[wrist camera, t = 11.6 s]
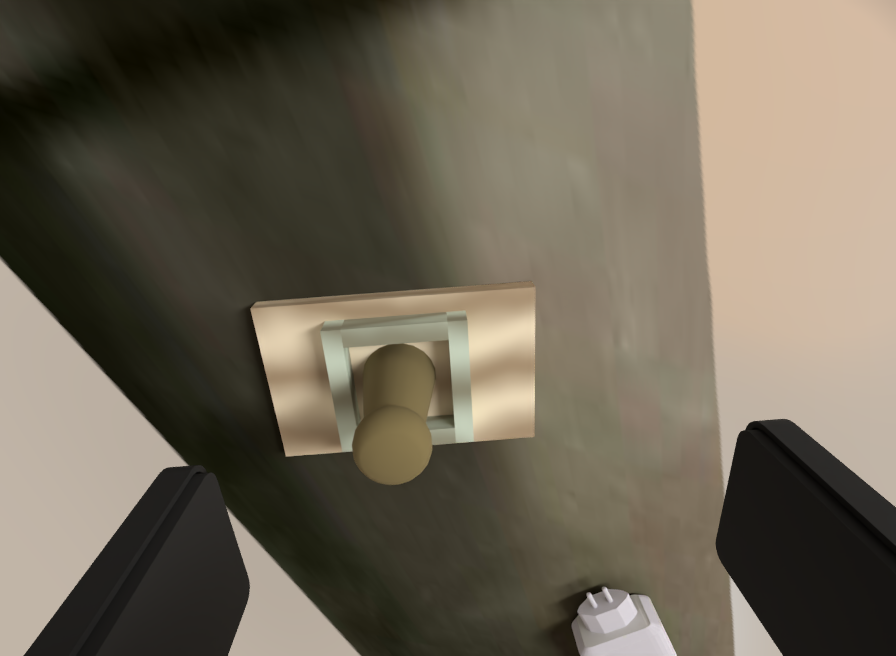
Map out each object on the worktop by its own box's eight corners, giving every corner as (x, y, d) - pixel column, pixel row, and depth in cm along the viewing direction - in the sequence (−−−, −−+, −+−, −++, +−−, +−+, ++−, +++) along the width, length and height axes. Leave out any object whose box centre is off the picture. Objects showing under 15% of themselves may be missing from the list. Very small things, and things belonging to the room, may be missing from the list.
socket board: (256, 301, 39) (241, 318, 36) (531, 281, 39) (540, 295, 36) (290, 446, 44) (279, 471, 41) (530, 427, 45) (539, 450, 41)
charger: (629, 555, 52) (668, 636, 58) (549, 585, 53) (594, 662, 59) (647, 595, 48) (687, 679, 53) (560, 627, 49) (608, 705, 55)
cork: (411, 329, 39) (405, 404, 29) (449, 386, 41) (457, 474, 31) (347, 365, 40) (321, 449, 30) (388, 418, 42) (377, 514, 32)
